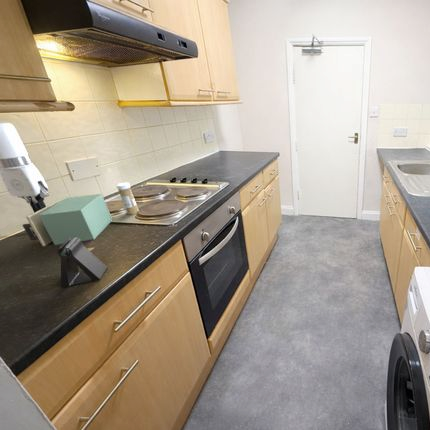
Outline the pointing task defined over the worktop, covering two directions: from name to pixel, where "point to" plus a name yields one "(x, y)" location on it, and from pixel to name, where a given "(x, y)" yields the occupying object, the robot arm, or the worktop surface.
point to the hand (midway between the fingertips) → (41, 212)
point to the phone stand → (78, 264)
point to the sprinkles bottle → (127, 198)
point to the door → (38, 226)
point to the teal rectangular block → (76, 218)
